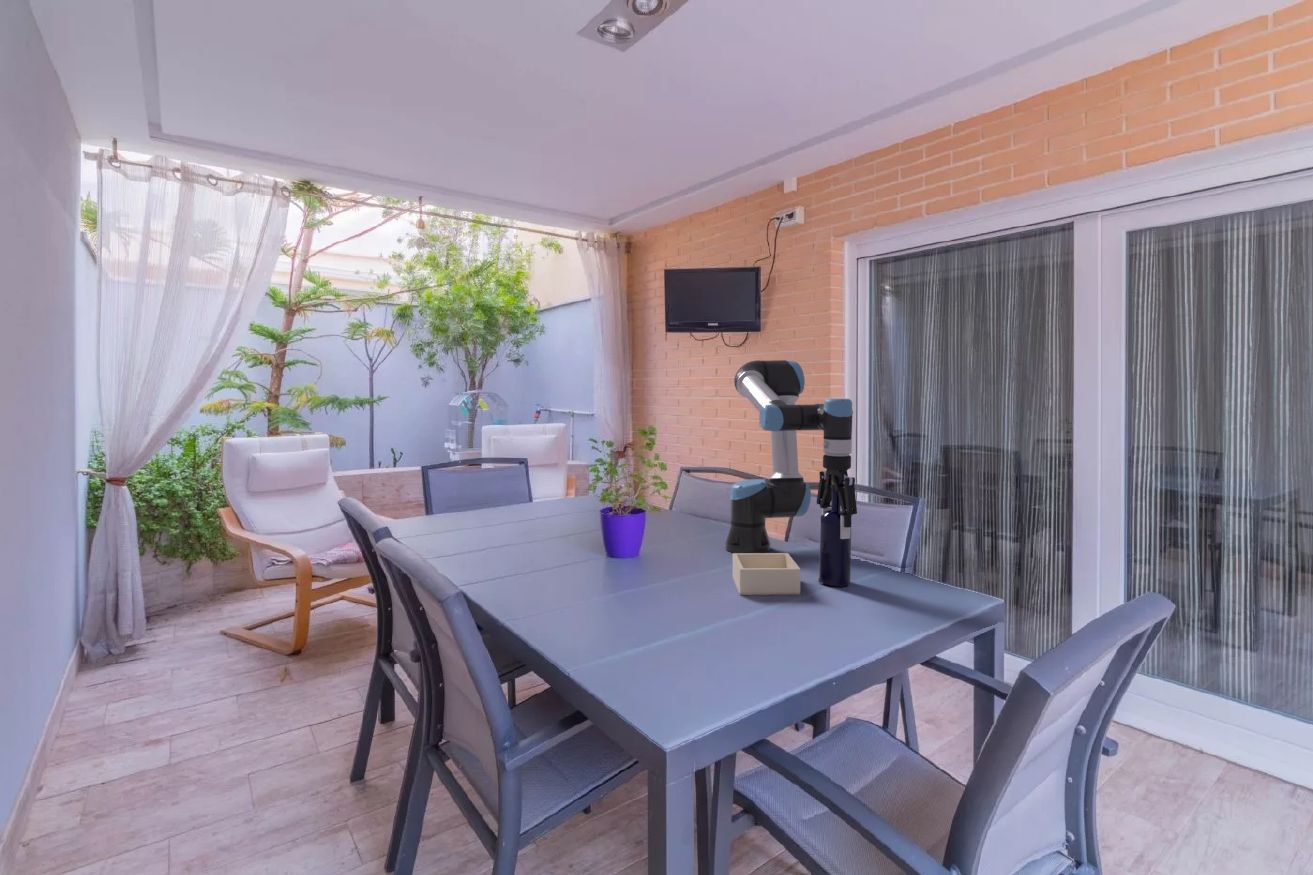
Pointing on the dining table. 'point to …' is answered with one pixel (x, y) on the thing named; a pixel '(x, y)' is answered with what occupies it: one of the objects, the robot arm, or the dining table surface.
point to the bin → (766, 574)
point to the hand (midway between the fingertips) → (835, 534)
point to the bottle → (833, 547)
